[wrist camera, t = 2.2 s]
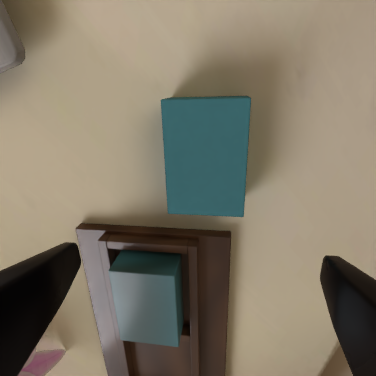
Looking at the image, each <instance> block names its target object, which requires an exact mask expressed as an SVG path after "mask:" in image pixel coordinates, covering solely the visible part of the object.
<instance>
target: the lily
mask: <svg viewBox="0 0 376 376" xmlns="http://www.w3.org/2000/svg"><path fill="white" fill-rule="evenodd" d="M65 352H66V351H65V350H47V351H40V352H36V347H35V349H34V350H33V352H32V353H31V355H30V357H29V358H28V360H27V362H26V363H25V365H24V367H23V368H22V370H21V371H20V373H19V375H18V376H44V375H45V374H47V373H48V372H49V371H50V370H51V369H52V368H53V367H54V366H55V365H56V364H57V363H58V362H59V361H60V360H61V358H62V357H63V356H64V355H65Z"/></svg>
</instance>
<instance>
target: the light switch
mask: <svg viewBox="0 0 376 376" xmlns="http://www.w3.org/2000/svg"><path fill="white" fill-rule="evenodd" d="M24 59H25V49H24V47H23V44H22V42H21V40H20V38H19V36H18V34H17V32H16V30H15V28H14V25H13V23H12V21H11V19H10V17H9V15H8V13H7V11H6V8H5V6H4V4H3V2H2V0H0V73H2V72H4V71H6V70H8V69H10V68H13V67H15V66H17V65H20V64H22V62H23V61H24Z"/></svg>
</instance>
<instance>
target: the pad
mask: <svg viewBox="0 0 376 376" xmlns="http://www.w3.org/2000/svg"><path fill="white" fill-rule="evenodd" d="M250 107H251V98H250V97H248V96H218V97H173V98H167V99H162V100H161V109H162V125H163V141H164V158H165V174H166V190H167V206H168V214H189V215H211V216H232V217H244V202H245V187H246V171H247V155H248V139H249V123H250Z"/></svg>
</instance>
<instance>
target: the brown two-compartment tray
mask: <svg viewBox="0 0 376 376" xmlns="http://www.w3.org/2000/svg"><path fill="white" fill-rule="evenodd" d="M76 233H77V237H78V242H79V247H80V251H81V256H82V260H83V265H84V269H85V274H86V278H87V283H88V287H89V292H90V297H91V301H92V306H93V310H94V315H95V319H96V324H97V328H98V333H99V337H100V342H101V346H102V351H103V356H104V360H105V365H106V369H107V374H108V376H225V364H226V341H227V318H228V295H229V272H230V249H231V232H230V231H214V230H196V229H177V228H159V227H141V226H122V225H104V224H85V223H81V224H80V225H79V226H78V227H77V228H76Z"/></svg>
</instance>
